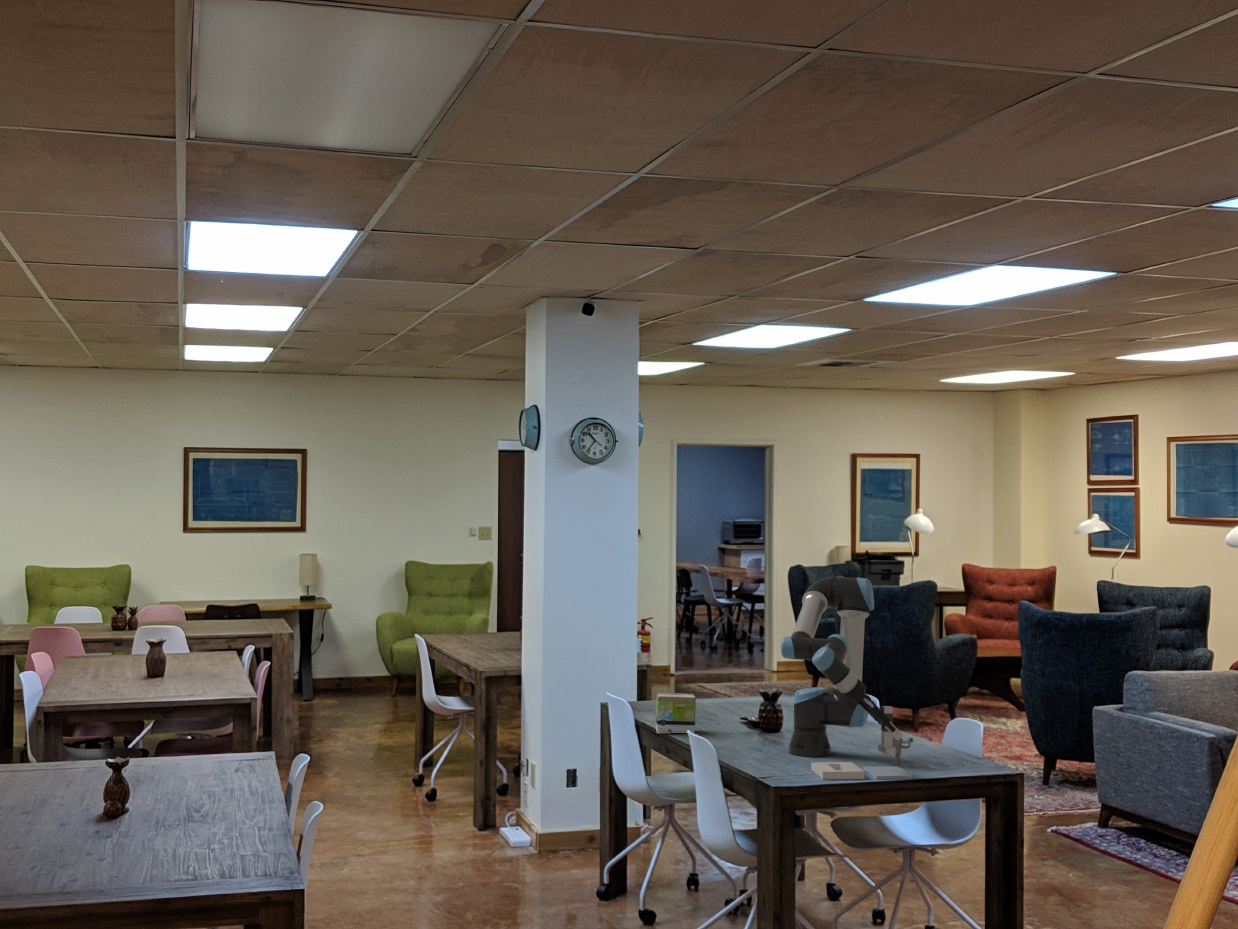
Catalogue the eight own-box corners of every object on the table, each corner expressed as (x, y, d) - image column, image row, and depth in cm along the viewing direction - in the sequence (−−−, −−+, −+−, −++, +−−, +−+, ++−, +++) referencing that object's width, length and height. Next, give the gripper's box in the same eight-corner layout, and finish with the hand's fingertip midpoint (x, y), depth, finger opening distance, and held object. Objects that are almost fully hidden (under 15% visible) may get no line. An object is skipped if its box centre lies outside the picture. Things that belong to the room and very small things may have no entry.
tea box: (657, 734, 451) (657, 696, 452) (655, 729, 461) (655, 692, 462) (695, 734, 451) (696, 696, 452) (693, 730, 461) (693, 692, 462)
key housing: (811, 770, 391) (811, 762, 391) (851, 769, 392) (851, 762, 392) (822, 779, 377) (822, 771, 377) (864, 779, 378) (864, 771, 378)
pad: (863, 769, 393) (863, 766, 393) (897, 769, 394) (897, 766, 394) (876, 779, 379) (876, 776, 379) (912, 778, 380) (912, 775, 380)
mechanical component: (912, 767, 397) (912, 738, 398) (882, 765, 400) (882, 736, 400) (912, 765, 400) (912, 736, 401) (882, 764, 402) (882, 734, 403)
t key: (878, 749, 389) (878, 704, 390) (887, 749, 390) (887, 705, 390) (886, 754, 381) (886, 708, 382) (895, 754, 382) (895, 708, 383)
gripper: (835, 690, 393) (882, 740, 394) (849, 697, 377) (898, 749, 378) (850, 675, 394) (897, 724, 395) (865, 681, 378) (914, 733, 379)
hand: (898, 736), depth 386 cm, fingers closed on t key, 3 cm apart
